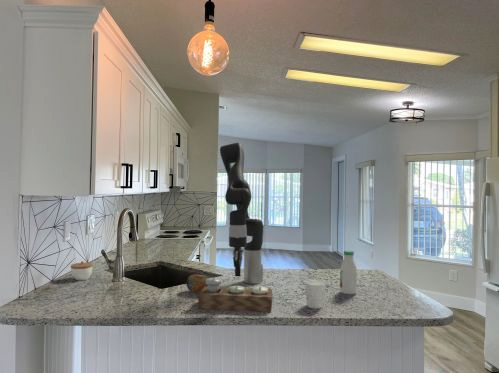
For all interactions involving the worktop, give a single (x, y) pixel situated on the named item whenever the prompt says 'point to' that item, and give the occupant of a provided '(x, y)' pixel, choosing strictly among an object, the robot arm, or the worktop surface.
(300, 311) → the worktop surface
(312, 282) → the white cup
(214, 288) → the grey knob
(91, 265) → the lidded jar
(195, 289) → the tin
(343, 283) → the milk bottle
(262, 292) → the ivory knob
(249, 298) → the brown wooden block
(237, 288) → the sage knob
